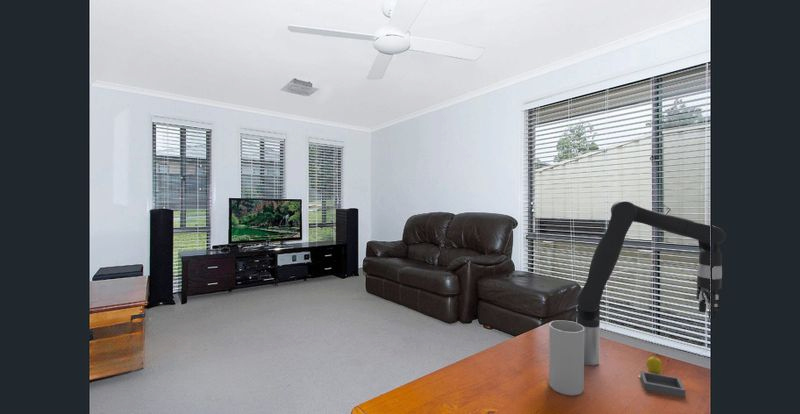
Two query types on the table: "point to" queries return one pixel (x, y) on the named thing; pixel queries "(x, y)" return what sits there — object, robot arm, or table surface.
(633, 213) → the robot arm
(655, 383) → the gray open tray
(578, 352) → the cylinder vase
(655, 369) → the lemon
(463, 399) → the table surface
